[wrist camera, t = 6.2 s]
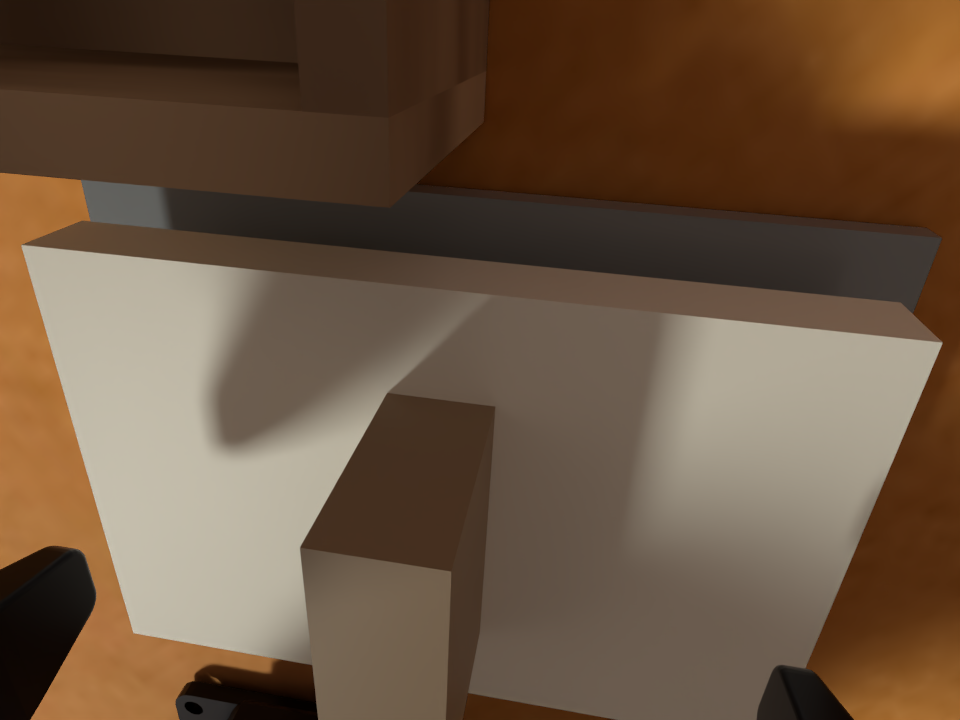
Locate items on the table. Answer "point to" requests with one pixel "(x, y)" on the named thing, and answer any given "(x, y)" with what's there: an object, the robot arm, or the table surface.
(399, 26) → the box
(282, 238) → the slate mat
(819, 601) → the lid
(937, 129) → the table surface
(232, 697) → the robot arm
